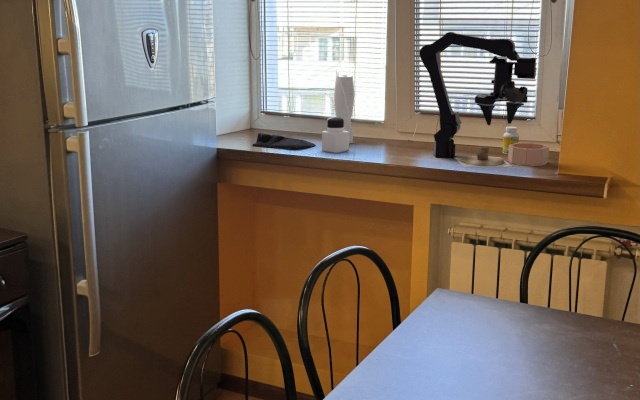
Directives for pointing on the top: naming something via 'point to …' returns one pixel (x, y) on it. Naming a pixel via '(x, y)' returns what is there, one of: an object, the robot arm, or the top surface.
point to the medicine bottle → (335, 136)
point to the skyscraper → (344, 100)
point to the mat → (483, 166)
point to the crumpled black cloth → (281, 142)
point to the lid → (482, 158)
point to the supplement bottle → (510, 138)
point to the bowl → (528, 154)
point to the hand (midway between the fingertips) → (499, 124)
